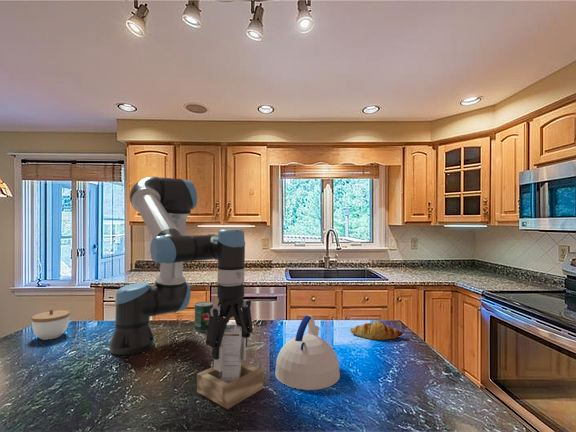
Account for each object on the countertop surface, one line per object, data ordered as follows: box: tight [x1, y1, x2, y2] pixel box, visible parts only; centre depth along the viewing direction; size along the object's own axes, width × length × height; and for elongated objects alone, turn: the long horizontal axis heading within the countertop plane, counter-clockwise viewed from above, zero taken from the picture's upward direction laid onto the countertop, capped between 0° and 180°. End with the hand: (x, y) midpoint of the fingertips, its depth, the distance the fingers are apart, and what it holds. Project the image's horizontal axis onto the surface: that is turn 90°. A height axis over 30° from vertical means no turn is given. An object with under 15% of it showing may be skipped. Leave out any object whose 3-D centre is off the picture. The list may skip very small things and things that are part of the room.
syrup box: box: [219, 324, 242, 384], centre depth 90 cm, size 6×6×14 cm
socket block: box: [196, 361, 264, 410], centre depth 89 cm, size 13×13×5 cm
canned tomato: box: [194, 301, 214, 332], centre depth 141 cm, size 8×8×11 cm
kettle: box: [274, 314, 341, 391], centre depth 100 cm, size 20×21×18 cm
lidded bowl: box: [31, 309, 71, 341], centre depth 130 cm, size 13×13×11 cm
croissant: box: [349, 320, 404, 341], centre depth 132 cm, size 21×10×8 cm, turn 77°
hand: (230, 364), depth 89 cm, fingers closed on syrup box, 8 cm apart
